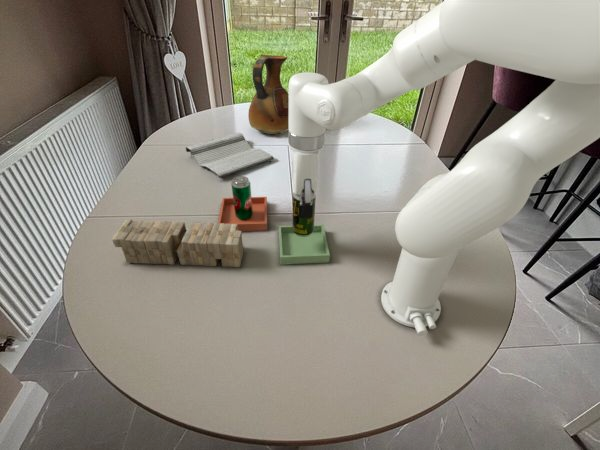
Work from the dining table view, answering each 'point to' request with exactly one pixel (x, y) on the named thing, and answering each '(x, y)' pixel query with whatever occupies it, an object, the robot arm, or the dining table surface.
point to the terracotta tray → (252, 224)
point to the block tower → (180, 243)
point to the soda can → (242, 197)
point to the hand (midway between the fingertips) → (304, 209)
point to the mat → (227, 154)
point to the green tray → (303, 246)
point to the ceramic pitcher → (269, 97)
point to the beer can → (302, 225)
